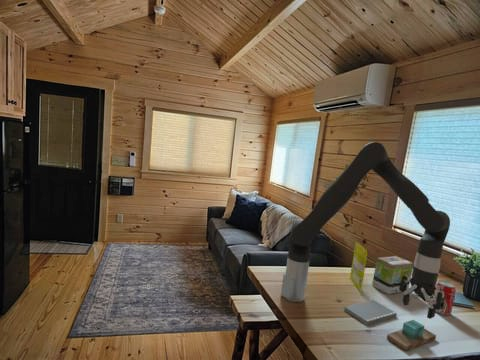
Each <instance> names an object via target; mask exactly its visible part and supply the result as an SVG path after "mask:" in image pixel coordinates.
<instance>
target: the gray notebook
mask: <svg viewBox="0 0 480 360" xmlns="http://www.w3.org/2000/svg"><path fill="white" fill-rule="evenodd" d="M343 311H344V312H346V313H347V314H349V315H350V316H352V317H353V318H355V319H357V320H358V321H360V322H361V323H362V324H364V325H366V326H369V325H373V324H376V323H379V322H383V321H386V320H391V319H393V318H396V317H397V314H398V313H397V312H395V311H394V310H392V309H390V308H388V307H387V306H385V305H383V304H382V303H380V302H378V301H377V300H374V299H372V300H367V301H363V302H359V303H355V304H351V305H347V306H344V309H343Z"/></svg>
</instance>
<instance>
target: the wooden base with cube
mask: <svg viewBox="0 0 480 360" xmlns="http://www.w3.org/2000/svg"><path fill="white" fill-rule="evenodd" d="M386 335H387V336H386V339H387V340H388V341H390V342H392V343H393V344H395V345H396V346H398V347H399V348H401V349H402V350H403V351H405V352H406V351H409V350H411V349H414V348H417V347H420V346H422V345H424V344H427V343H430V342H432V341H434V340H436V339H437V338H436V337H437V334H435V333H434V332H431V331H429V330H428V329H427V328H425V325H424V324H422V323H421V322H418V321H416V320H415V319H412V320H408V321H404V322H403V324H402V329H400V330H396V331H393V332H390V333H388V334H386Z"/></svg>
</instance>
